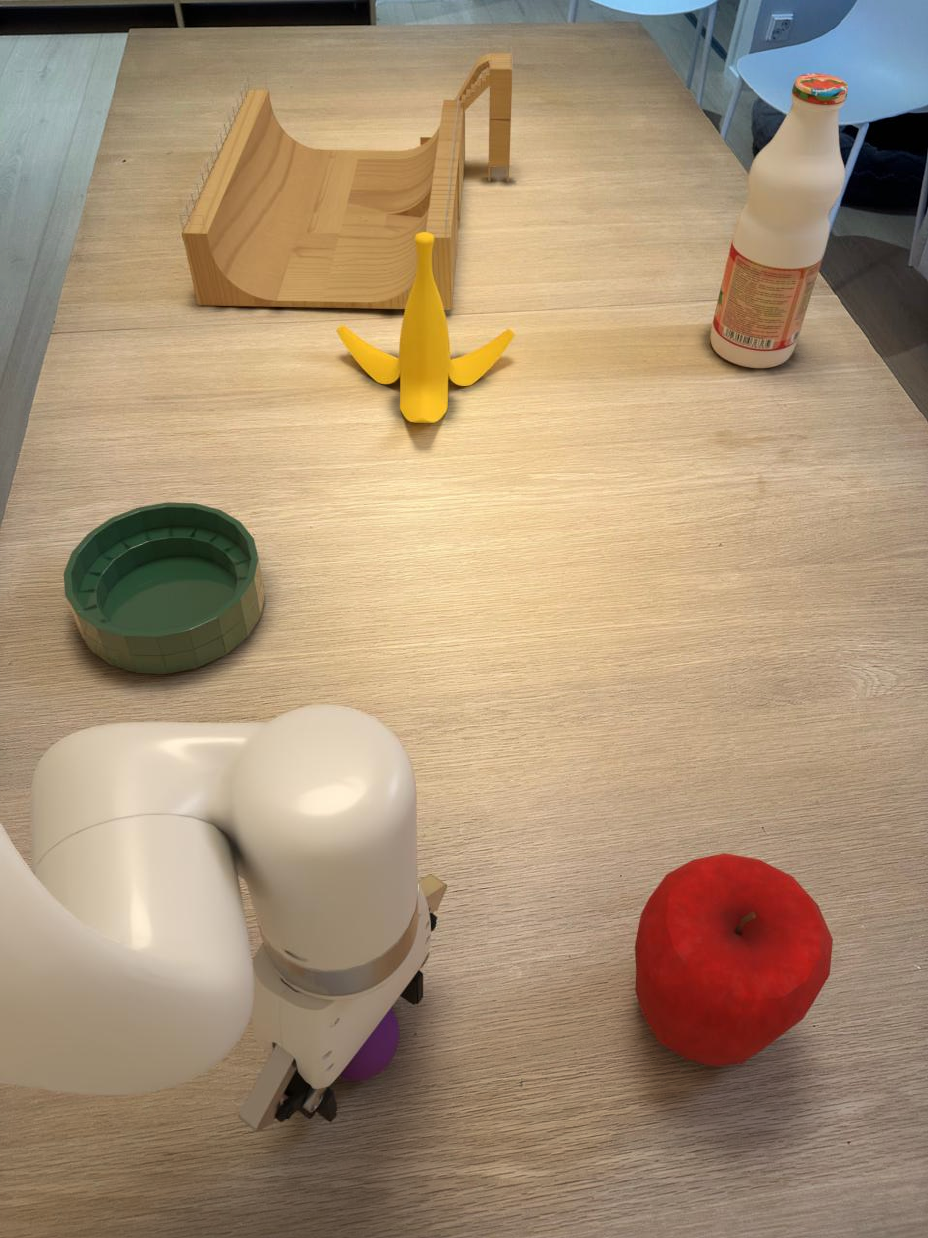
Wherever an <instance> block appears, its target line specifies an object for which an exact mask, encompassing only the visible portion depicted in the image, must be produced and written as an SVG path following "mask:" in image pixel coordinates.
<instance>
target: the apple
mask: <svg viewBox="0 0 928 1238" xmlns="http://www.w3.org/2000/svg"><path fill="white" fill-rule="evenodd" d="M833 944H834V939H833V936H832V934H831V931H830V929H829V927H828V925H827V922H826V920H825V917H824V915H823V913H822V910H821V908H820V906H819V904H818V903H817V902H816V900H814V898H813V897H811V895H810V894H809V893H808V892H807V891H806V889H804V887H802V885H801V884H800V883H799V881H797V879H796V878H794V876H793V875H791V874H789V873H786V872H785V871H783V870H781V869H779V868H777V867H775V866H773V865H771V864H769V863H767V862H765V861H763V860H761V859H758V858H754V857H747V856H743V855H738V854H731V853H725V852H724V853H723V852H722V853H719V854H714V855H710V856H703V857H700V858H695V859H692V860H690V861H688V862H686V863H685V864H683V865H681V866H679V867H677V868H675V869H673V870H672V871H670V872H669V873H667V874H666V875H665V876H664V877H663V878H662V880H661V881H660V883H659V884H658V885H657V887H656V888H655V890H653V892H652V893H651V895H650V896H649V898H648V900H647V902H646V903H645V905H644V907H643V909H642V911H641V913H640V917H639V921H638V926H637V932H636V938H635V943H634V953H635V954H634V957H635V990H634V991H635V995H636V997H637V1000H638V1004H639V1007H640V1010H641V1014H642V1016H643V1017H642V1018H643V1019H644V1020H645V1022H646V1023H647V1025H648V1026H649V1028H650V1029H651V1032H653V1034H654V1036H655V1037H656V1039H657V1040H658V1041H659V1043H660V1044H661V1045H662V1046H665V1047H666V1048H668V1049H669V1050H671V1051H672V1052H674V1053H676V1054H677V1055H679V1056H680V1057H681V1058H683V1059H685V1060H687V1061H691V1062H696V1063H697V1064H698V1063H699V1064H701V1065H702V1064H703V1065H706V1066H710V1067H713V1068H715V1067H724V1066H725V1067H726V1066H734V1065H742V1064H743V1063H745V1062H746V1061H748V1060H750V1059H751V1058H752V1057H754V1056H755V1055H757V1054H758V1053H760V1052H762V1051H763V1050H764V1049H766V1048H767V1047H768V1046H769V1045H771V1044H772V1043H773V1042H775V1041H776V1040H778V1038H780V1037H781V1036H782V1035H784V1034H785V1033H787V1032H788V1031H789V1030H791V1029H792V1028H793V1027H795V1026H796V1025H798V1024H799V1023H800V1022H802V1020H804V1019H805V1017H806V1015H807V1013H808V1012H809V1010H810V1009H811V1007H812V1006H813V1005H814V1002H815V1000H817V997H818V995H819V994H820V992H821V990H822V989H823V987H824V986H825V984H826V982H827V980H828V978H829V977H830V975H831V966H832V965H831V964H832V956H833Z"/></svg>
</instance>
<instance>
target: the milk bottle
mask: <svg viewBox="0 0 928 1238" xmlns="http://www.w3.org/2000/svg"><path fill="white" fill-rule="evenodd" d="M848 92H849V85H848V83H847V82H846V81H845V80H844V79H842V78H840V77H837V76H834V75H830V74H825V73H817V72H814V73H813V72H811V73H805V74H801V75H799V76H797V78H796V79H795V81H794V83H793V86H792V88H791V95H790V98H791V101H792V103H791V106H790V107H789V110H788V112H787V114H786V115H785V118H784V119H783V121H782V123H781V124H780V126H779V128H778V129H777V131H776V133H775V134H774V135H773V137H772V139H771V140H770V141H769V142H768V143H767V144H766V145H765V146H764V147H763V148H761V149H760V150H759V152H758V153H757V154H756V155H755V157H754V159H753V161H752V164H751V166H750V170H749V172H748V177H747V191H748V192H747V195H748V196H747V201H746V202H745V204H744V206H743V207H742V209H741V210H740V212H739V214H738V217H737V219H736V223H735V227H734V230H733V233H732V237H731V243H730V247H729V252H728V256H727V259H726V260H727V261H726V264H725V269H724V273H723V277H722V281H721V285H720V290H719V293H718V298H717V302H716V307H715V311H714V316H713V318H712V319H713V320H712V324H711V328H710V344H711V348H713V350H714V351H715V353H716V354H717V355H719V356H720V357H721V358H722V359H724V360H726V361H727V362H729V363H732V364H734V365H737V366H741V367H745V368H751V369H769V368H774V367H778V366H779V365H782V364H784V363H786V361H788V360H789V359H790V358H791V356H792V355H793V353H794V351H795V348H796V346H797V343H798V339H799V337H800V333H801V331H802V330H801V329H802V326H803V323H804V320H805V316H806V314H807V311H808V307H809V304H810V301H811V297H812V294H813V292H814V288H815V285H816V282H817V278H818V275H819V271H820V268H821V265H822V261H823V259H824V256H825V253H826V249H827V246H828V241H829V238H830V232H831V219H830V215H831V211H832V210H833V208H834V206H835V205H836V204H837V202H838V200H839V198H840V196H841V194H842V191H843V188H844V184H845V181H846V180H845V179H846V168H845V164H844V161H843V158H842V153H841V147H840V134H839V133H840V132H839V112H840V109H841V108H842V107H844V105H845V102H846V100H847V97H848Z"/></svg>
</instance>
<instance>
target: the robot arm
mask: <svg viewBox="0 0 928 1238" xmlns="http://www.w3.org/2000/svg"><path fill="white" fill-rule="evenodd" d="M417 795H418V794H417V785H416V776H415V770H414V765H413V762H412V759H411V757H410V755H409V753H408V751H407V750H406V748H405V746H404V744H403V742H402V741H401V739H400V738H398V736H397V735H396V734H395V733H394V732H393V730H392V729H391V728H390V727H388V726H387V724H385V723H383V721H381V720H380V719H378V718H377V717H375V716H373V715H371V714H369V713H367V712H365V711H362V710H359V709H357V708H353V707H350V706H344V705H338V704H313V705H306V706H301V707H298V708H295V709H291V710H289V711H287V712H284V713H282V714H280V715H277V716H276V717H273V718H271V719H270V720H266V721H243V722H241V721H240V722H201V721H199V722H198V721H197V722H195V721H194V722H193V721H159V720H158V721H156V720H154V721H153V720H152V721H125V722H124V721H123V722H113V723H112V722H111V723H106V724H101V725H96V726H90V727H87V728H83V729H81V730H78V731H74V732H73V733H70V734H68V735H66V736H63V738H60V740H58V741H56V742H54V744H52V745H51V746H50V747H49V748H48V749H47V750H46V751H45V753H44V754H43V755H41V758H40V760H39V761H38V763H37V765H36V767H35V770H34V772H33V774H32V779H31V786H30V794H29V796H30V797H29V817H30V818H29V819H30V846H31V847H30V849H31V850H30V851H31V853H30V854H31V855H30V856H31V868H30V866H29V865H28V864H27V862H26V861H25V860H24V858H23V857H22V855H21V853H20V852H19V851H18V849H17V847H15V845H14V844H13V842H12V839H11V838H10V837H9V836H10V835H9V834H8V833H7V831H6V830H5V827H4V826H3V824H2V822H1V821H0V1084H5V1085H12V1086H17V1087H23V1088H28V1089H34V1090H41V1091H50V1092H56V1093H57V1092H58V1093H65V1094H73V1095H86V1096H89V1095H90V1096H91V1095H92V1096H109V1097H117V1096H118V1097H119V1096H132V1095H133V1096H134V1095H143V1094H150V1093H154V1092H155V1093H156V1092H159V1091H163V1090H167V1089H171V1088H173V1087H176V1086H181V1085H183V1084H185V1083H188V1082H190V1081H192V1080H195V1079H196V1078H199V1077H200V1076H203V1074H205V1073H207V1072H208V1071H209V1070H211V1069H212V1068H214V1067H216V1066H217V1065H219V1064H220V1063H221V1062H222V1061H223V1060H224V1059H225V1058H226V1057H227V1056H229V1054H230V1053H232V1051H233V1050H234V1049H235V1047H237V1044H238V1043H239V1042H240V1040H241V1038H242V1037H243V1036H244V1033H245V1031H246V1029H247V1027H248V1024H249V1022H250V1021H251V1026H252V1031H253V1034H254V1038H255V1041H256V1043H257V1045H258V1046H259V1047H260V1048H261V1049H262V1050H263V1051H264V1053H266V1054H267V1055H268V1059H267V1061H266V1062H265V1064H264V1066H263V1067H262V1069H261V1072H260V1074H259V1076H258V1077H257V1078H256V1080H255V1082H254V1085H253V1087H252V1088H251V1090H250V1092H249V1094H248V1096H247V1097H246V1098H245V1099H246V1100H245V1101H244V1103H243V1105H242V1107H241V1109H240V1110H239V1113H238V1116H237V1117H238V1118H239V1119H240V1120H241V1122H243V1123H245V1124H246V1125H247V1126H248V1127H249V1128H250V1129H252V1130H253V1131H254V1132H255V1133H259V1132H260V1131H262V1130H264V1129H266V1128H268V1127H269V1126H271V1125H273V1123H274V1122H275V1120H277V1121H278V1122H279V1123H283V1122H285V1121H286V1120H287V1121H288V1120H290V1119H291V1118H292V1116H293V1115H294V1114H296V1113H297V1112H298V1113H300V1114H301V1115H302V1116H304V1117H305V1118H306V1119H308V1120H311V1121H312V1119H313V1117H315V1115H316V1114H318V1115H319V1116H321V1117H322V1118H323V1119H324V1120H326V1122H328V1123H332V1122H333V1121H334V1120H335V1118H336V1117H337V1115H338V1114H337V1111H338V1107H337V1102H336V1098H335V1097H336V1096H335V1093H334V1091H333V1089H332V1088H331V1087H329V1086H331V1085H332V1084H333V1083H334V1082H335V1080H337V1078H339V1077H338V1076H339V1075H340V1074H341V1072H342V1071H343V1070H344V1069H345V1067H346V1066H347V1065H348V1064H349V1062H350V1061H351V1060H352V1058H353V1057H354V1056H355V1054H356V1053H357V1052H358V1051H359V1049H360V1048H361V1047H362V1045H363V1044H364V1043H365V1041H366V1040H367V1039H368V1037H369V1036H370V1035H371V1033H372V1032H373V1031H374V1029H375V1028H376V1027H377V1026H378V1024H379V1023H380V1022H381V1020H382V1019H383V1018H384V1016H385V1015H386V1014H387V1012H388V1011H389V1010H390V1008H393V1006H394V1004H395V1003H396V1002H397V1000H398V998H399V997H401V998H402V999H403V1000H405V1001H407V1003H409V1004H410V1005H412V1006H416V1005H419V1004H420V1002H422V1000H423V998H424V972H423V971H421V969H422V968H423V967H424V966H425V964H426V963H427V961H428V960H429V957H430V954H431V953H430V948H431V941H432V932H434V930H435V929H436V927H437V924H438V922H437V921H438V916H437V915H435V912H437V910H439V908H440V905H441V902H442V901H443V899H444V896H445V893H446V892H447V888H448V884H446V883H445V882H444V881H443V880H441V879H439V878H437V877H436V876H435V875H433V874H432V873H429V874H427V875H426V876H424V877H423V878H421V879H419V871H418V870H419V868H418V867H419V865H418V863H419V862H418V810H417V809H418V804H417V801H418V800H417V799H418V798H417ZM239 877H240V878H241V879H242V880H243V881H244V882H245V883H246V887H247V891H248V894H249V898H250V901H251V904H252V909H253V912H254V915H255V918H256V922H257V927H258V929H259V934H260V937H261V940H262V943H261V945H260V946H259V948H258V950H257V951H256V953H255V954H254V957H252V950H251V944H250V943H251V941H250V937H249V930H248V924H247V917H246V913H245V907H244V902H243V896H242V889H241V883H240V878H239Z"/></svg>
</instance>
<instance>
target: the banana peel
mask: <svg viewBox="0 0 928 1238" xmlns="http://www.w3.org/2000/svg"><path fill="white" fill-rule="evenodd" d="M415 243H416V248H417V273H416V277H415V281H414V284H413V287H412V289H411V292H410V295H409V298H408V301H407V305H406V308H405V309H404V313H403V316H402V317H403V318H402V323H401V328H400V336H399V346H398V347H399V349H398V357H397V356H394V355H392V354H390V353H386V352H385V351H382V350H380V349H379V348H376V347H375V346H373V345H372V344H370V343H369V342H368V341H366V340H364V339H362V338H361V337H360V336H358V335H357V334H356V333H354V332H353V331H352V330H351V329H350V328H349V327H347V326H346V325H344V324H341V325H339V326H338V328H337V329H336V334H337V335H338V337H339V338H340V340H341V341H342V343H343V345H344V346H345V348H346V349H347V350H348V351H349V353H350V354H351V356H352V357H353V359H354V360H355V361H356V362H357V364H358V365H359V366H360V367H361V368H362V369H363V370H364V371H365V372H366V373H367V374H368V375H369V376H370V377H371V378H372V379H373V380H374V381H375V382H376V383H378V384H382V385H391V384H394V383H395V382H397V381H398V380H399V379H400V380H399V381H400V382H399V383H400V387H399V388H400V389H399V390H400V391H399V397H400V398H399V410H400V412H401V414H402V415H403V417H404V418H405V419H406V420H407V421H408V422H410V423H416V424H417V423H422V424H432V423H436V422H438V421H439V420H441V419H442V418H443V417H444V415H445V414H446V412H447V411H448V408H449V406H448V404H449V402H448V401H449V380H450V381H451V382H452V383H453V384H455V385H457V386H460V387H468V386H471V385H473V384H474V383H476V382H477V381H478V380H479V379H481V378H482V377H483V376H484V375H485V374H486V373H487V372H488V371H489V370H490V369H491V368H492V367H493V366H494V364H495V363H497V361H498V360H499V359H500V357H502V355H503V354H504V352H505V351H506V349H507V348H508V347H509V345H510V344H511V342H512V341H513V339H514V337H515V336H516V335H515V332H514V331H512V329H510V328H507V329H506V330H504V331H503V332H502V333H501V334H499V335H498V336H497V337H495V338H493V339H492V340H491V341H489V342H487V343H486V344H483V346H481V347H479V348H477V349H475V350H473V351H471V352H468V353H467V354H464V355H460V356H459V357H456V358H452V359H451V343H450V334H449V328H448V321H447V316H446V312H445V310H444V308H443V304H442V301H441V297H440V294H439V292H438V289H437V286H436V284H435V281H434V277H433V273H432V248H433V243H434V236H433V235H432V234H430V233H427V232H421V233H418V234H416V236H415Z"/></svg>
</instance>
